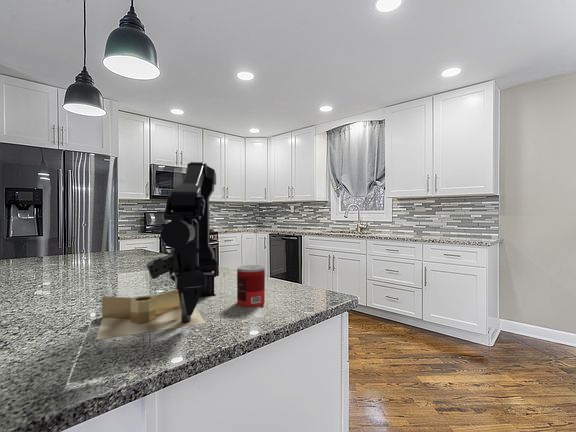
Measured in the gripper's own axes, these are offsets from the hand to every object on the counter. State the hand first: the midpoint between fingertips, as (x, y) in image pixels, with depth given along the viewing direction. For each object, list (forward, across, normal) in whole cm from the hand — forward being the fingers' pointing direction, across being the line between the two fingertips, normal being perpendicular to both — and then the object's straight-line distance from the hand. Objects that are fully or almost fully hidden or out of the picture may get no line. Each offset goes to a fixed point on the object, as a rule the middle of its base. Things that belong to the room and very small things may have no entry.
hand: (186, 309), depth 75 cm
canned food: (+4, -8, +19) cm, 21 cm away
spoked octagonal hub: (+3, -8, -9) cm, 12 cm away
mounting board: (+4, -5, -7) cm, 9 cm away
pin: (+3, 0, 0) cm, 3 cm away
